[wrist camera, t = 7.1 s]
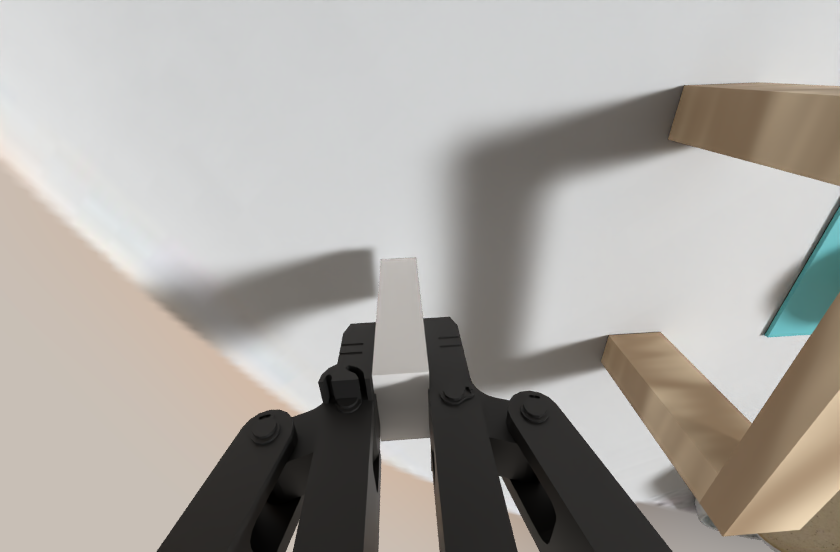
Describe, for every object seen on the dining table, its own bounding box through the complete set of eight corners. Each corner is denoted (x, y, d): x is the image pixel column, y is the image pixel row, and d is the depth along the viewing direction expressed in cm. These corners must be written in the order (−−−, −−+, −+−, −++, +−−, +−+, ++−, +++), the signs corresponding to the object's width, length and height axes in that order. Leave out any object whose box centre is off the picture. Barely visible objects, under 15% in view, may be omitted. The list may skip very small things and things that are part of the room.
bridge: (600, 361, 21) (722, 536, 13) (684, 85, 14) (1062, 110, 6) (650, 358, 21) (799, 529, 14) (758, 82, 14) (1224, 103, 6)
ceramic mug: (797, 424, 26) (933, 548, 19) (839, 462, 29) (970, 581, 22) (666, 491, 30) (742, 614, 23) (715, 519, 33) (794, 634, 26)
